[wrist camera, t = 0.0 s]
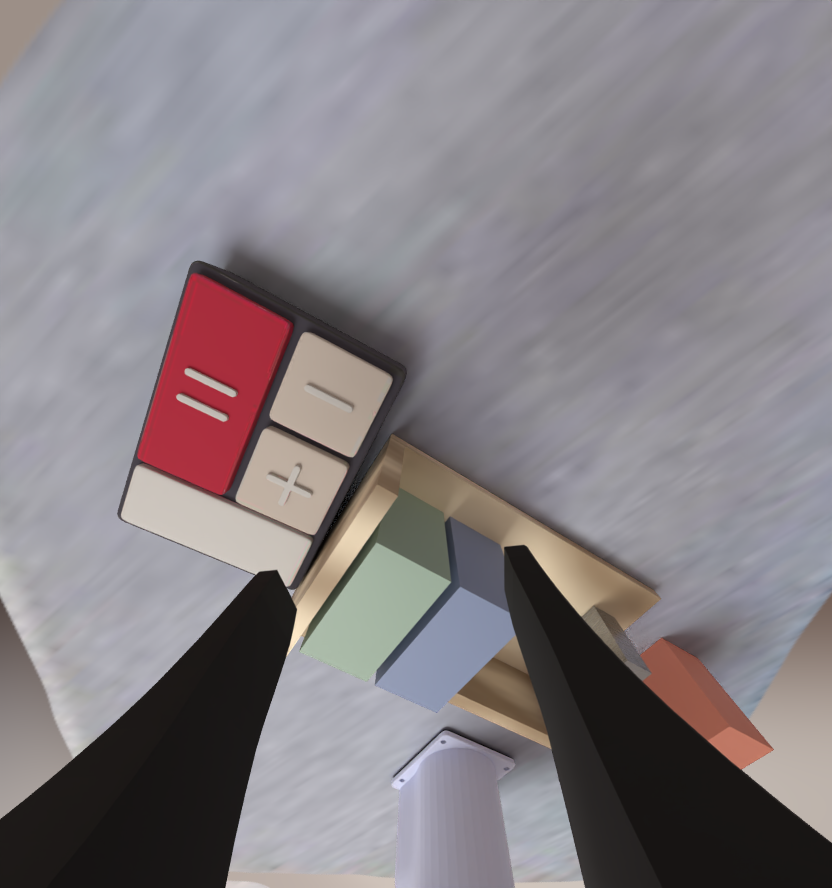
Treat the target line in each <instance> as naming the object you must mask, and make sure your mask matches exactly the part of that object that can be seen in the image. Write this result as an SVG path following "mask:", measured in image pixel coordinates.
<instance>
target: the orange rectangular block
mask: <svg viewBox="0 0 832 888" xmlns="http://www.w3.org/2000/svg"><path fill="white" fill-rule="evenodd" d="M640 656H641V658H642V659H643V661H644V662H645V664H646V665H647V667H648V668H649V670H650V671H651V673H652V674H651V675H649V676H648V677H647V678H646V679H644V680H643V682H644V683H645V684H646V685H647V686H648V687H649V688H650V689H651V690H652V691H653V692H654V693H655V694H656V695H657V696H658V697H659V698H661V699H662V700H663V701H664V702H665V703H666V704H667V705H668V706H669V707H670V708H671V709H672V710H673V711H674V712H676V713H677V714H678V715H679V716H680V717H681V718H682V719H683V720H685V721H686V722H687V723H688V724H689V725H690V726H691V727H693V728H694V729H695V730H696V731H697V732H698V733H699V734H701V735H702V736H703V737H704V738H705V739H706V740H707V741H708V742H710V743H711V744H712V745H713V746H714V747H715V748H716V749H718V750H719V751H720V752H721V753H722V754H723V755H724V756H725V757H727V758H728V759H729V760H730V761H731V762H732V763H734V764H735V765H736V766H737V767H738V768H740V769H743V768H745V767H746V766H748V765H750V764H751V763H753V762H755V761H756V760H758V759H760V758H761V757H763V756H765V755H766V754H768V753H769V752H771V751H773V750H774V749H773V748H772V747H771V746H770V745H769V743H768V742H767V741H766V740H765V739H764V737H763V736H762V735H761V734H760V733H759V731H758V730H757V729H756V728H755V726H754V725H753V724H752V723H751V722H750V720H749V719H748V718H747V717H746V716H745V714H744V713H743V712H742V711H741V710H740V708H739V707H738V706H737V705H736V704H735V702H734V701H733V700H732V699H731V698H730V696H729V695H728V694H727V693H726V692H725V690H724V689H723V688H722V687H721V686H720V684H719V683H718V682H717V681H716V680H715V678H714V677H713V676H712V675H711V674H710V672H709V671H708V670H707V669H706V667H705V666H704V665H703V664H702V663H701V661H700V660H699V659H698V658H696V657H695V656H693V655H691V654H689V653H687V652H686V651H684V650H682V649H680V648H679V647H677V646H675V645H673V644H672V643H670V642H668V641H666V640H665V639H663V638H661V639H659V640H658V641H657V642H656V643H655V644H653V645H652V646H651V647H650V648H648V649H647V650H646V651H645V652H643V653H642V654H641V655H640Z"/></svg>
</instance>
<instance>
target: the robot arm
mask: <svg viewBox="0 0 832 888" xmlns="http://www.w3.org/2000/svg"><path fill="white" fill-rule="evenodd" d="M504 591H505V595H506V599H507V604H508V608H509V613H510V617H511V621H512V625H513V628H514V631H515V634H516V637H517V640H518V644H519V647H520V650H521V653H522V656H523V659H524V662H525V665H526V668H527V671H528V674H529V677H530V680H531V683H532V686H533V689H534V691H535V694H536V697H537V700H538V703H539V706H540V709H541V713H542V716H543V720H544V723H545V726H546V730H547V733H548V737H549V741H550V745H551V749H552V753H553V757H554V761H555V765H556V769H557V773H558V777H559V781H560V785H561V789H562V793H563V797H564V801H565V805H566V809H567V813H568V818H569V822H570V826H571V830H572V834H573V838H574V843H575V847H576V851H577V855H578V859H579V864H580V868H581V872H582V876H583V881H584V885H585V888H832V843H831V842H830V841H829V840H827V839H826V838H825V837H823V836H822V835H820V833H818V832H817V831H816V830H814V829H813V828H812V827H811V826H810V825H808V824H807V823H806V822H805V821H803V820H802V819H801V818H800V817H798V816H797V815H796V814H794V813H793V812H792V811H791V810H790V809H788V808H787V807H786V806H785V805H783V804H782V803H781V802H780V801H778V800H777V799H776V798H775V797H773V796H772V795H771V794H770V793H769V792H767V791H766V790H765V789H764V788H763V787H761V786H760V785H759V784H758V783H756V782H755V781H754V780H753V779H752V778H751V777H749V776H748V775H747V774H745V773H744V772H743V771H742V770H741V769H740V768H738V767H737V766H736V765H735V764H734V763H732V762H731V761H730V760H729V759H728V758H727V757H725V756H724V755H723V754H722V753H721V752H720V751H719V750H718V749H716V748H715V747H714V746H713V745H712V744H711V743H710V742H708V741H707V740H706V739H705V738H704V737H703V736H702V735H701V734H699V733H698V732H697V731H696V730H695V729H694V728H693V727H691V726H690V725H689V724H688V723H687V722H686V721H685V720H683V719H682V718H681V717H680V716H679V715H678V714H677V713H676V712H674V711H673V710H672V709H671V708H670V707H669V706H668V705H667V704H666V703H665V702H664V701H663V700H662V699H661V698H659V697H658V696H657V695H656V694H655V693H654V692H653V691H652V690H651V689H650V688H649V687H648V686H647V685H646V684H645V683H644V682H643V681H642V680H641V679H640V678H639V677H638V676H637V675H636V674H635V673H634V672H633V671H632V670H631V669H630V668H629V667H627V666H626V665H625V663H624V662H623V661H622V660H621V659H620V658H619V657H618V656H617V655H616V654H615V653H614V652H613V651H612V650H611V649H610V648H609V647H608V646H607V645H606V644H605V643H604V641H603V640H602V639H601V638H600V637H599V636H598V635H597V634H596V633H595V632H594V631H593V629H592V628H591V627H590V626H589V625H588V624H587V623H586V622H585V620H584V619H583V618H582V617H581V616H580V615H579V614H578V612H577V611H576V610H575V609H574V608H573V606H572V605H571V604H570V603H569V602H568V600H567V599H566V598H565V597H564V596H563V594H562V593H561V592H560V591H559V589H558V588H557V587H556V586H555V584H554V583H553V582H552V580H551V579H550V578H549V576H548V575H547V574H546V573H545V571H544V570H543V568H542V567H541V566H540V564H539V563H538V562H537V560H536V559H535V557H534V556H533V554H532V553H531V551H530V550H529V548H528V547H527V546H525V545H516V546H506V547H504ZM296 614H297V608H296V606H295V604H294V602H293V600H292V598H291V596H290V594H289V592H288V590H287V588H286V586H285V584H284V582H283V580H282V578H281V576H280V574H279V572H278V570H269V571H259V572H258V573H257V574H256V575H255V576H254V577H253V578H252V580H251V581H250V582H249V583H248V584H247V585H246V586H245V587H244V589H243V590H242V591H241V592H240V593H239V594H238V595H237V597H236V598H235V599H234V600H233V601H232V602H231V603H230V605H229V606H228V607H227V608H226V609H225V610H224V611H223V612H222V614H221V615H220V616H219V617H218V618H217V619H216V620H215V621H214V623H213V624H212V625H211V626H210V627H209V628H208V629H207V630H206V631H205V633H204V634H203V635H202V636H201V637H200V638H199V639H198V640H197V641H196V642H195V643H194V644H193V646H192V647H191V648H190V649H189V650H188V651H187V652H186V653H185V654H184V655H183V656H182V657H181V658H180V659H179V660H178V661H177V662H176V663H175V664H174V665H173V666H172V668H171V669H170V670H169V671H168V672H167V673H166V674H165V675H164V676H163V677H162V678H161V679H160V680H159V681H158V682H157V683H156V684H155V685H154V686H153V687H152V688H151V689H150V690H149V691H148V692H147V693H146V694H145V695H144V696H143V697H142V698H141V699H140V700H138V701H137V702H136V703H135V704H134V705H133V706H132V707H131V708H130V709H129V710H128V711H127V712H126V713H125V714H124V715H123V716H121V717H120V718H119V719H118V720H117V721H116V722H115V723H114V724H113V725H112V726H111V727H109V728H108V729H107V730H106V731H105V732H104V733H103V734H102V735H100V736H99V737H98V738H97V739H96V740H95V741H94V742H92V743H91V744H90V745H89V746H88V747H87V748H85V749H84V750H83V751H82V752H81V753H80V754H79V755H77V756H76V757H75V758H74V759H73V760H72V761H71V762H69V763H68V764H67V765H66V766H65V767H64V768H62V769H61V770H60V771H59V772H58V773H57V774H55V775H54V776H53V777H52V778H51V779H50V780H48V781H47V782H46V783H45V784H43V785H42V786H41V787H40V788H38V789H37V790H36V791H35V792H34V793H32V795H30V796H29V797H28V798H26V799H25V800H24V801H23V802H21V803H20V804H19V805H18V806H16V807H15V808H14V809H12V810H11V811H10V812H9V813H8V814H6V815H5V816H4V817H2V818H1V819H0V888H225V886H226V881H227V876H228V871H229V866H230V862H231V857H232V852H233V847H234V842H235V837H236V833H237V828H238V824H239V819H240V815H241V810H242V806H243V801H244V797H245V793H246V789H247V785H248V780H249V776H250V772H251V768H252V764H253V760H254V756H255V752H256V748H257V745H258V741H259V738H260V735H261V731H262V728H263V725H264V722H265V719H266V716H267V713H268V710H269V707H270V704H271V701H272V698H273V695H274V692H275V689H276V686H277V683H278V680H279V677H280V674H281V671H282V668H283V665H284V662H285V659H286V656H287V652H288V649H289V646H290V642H291V638H292V634H293V629H294V624H295V619H296ZM514 767H515V762H514V760H513V759H512V758H509V757H507V756H505V755H503V754H500V753H498V752H496V751H493V750H491V749H489V748H487V747H484V746H482V745H480V744H477V743H475V742H473V741H470V740H468V739H466V738H464V737H461V736H459V735H457V734H454V733H452V732H450V731H443V732H441V733H440V734H439V735H438V736H437V737H436V738H435V739H434V740H433V741H432V742H431V743H430V744H429V745H428V746H427V747H426V748H425V749H424V750H422V751H421V752H420V753H419V754H418V755H417V756H416V757H415V758H414V759H413V760H412V761H411V762H410V763H409V764H408V765H407V766H406V767H405V768H404V769H403V770H401V771H400V772H399V773H398V774H397V775H396V776H395V777H394V778H393V779H392V784H391V785H392V787H393V788H396V789H398V790H399V807H398V827H397V847H396V867H395V888H515V886H514V880H513V874H512V867H511V861H510V855H509V849H508V843H507V837H506V831H505V825H504V819H503V813H502V807H501V801H500V795H499V789H498V783H497V781H498V780H499V779H501V778H502V777H503V776H504V775H506V774H507V773H508V772H509V771H511V770H512V769H513V768H514Z"/></svg>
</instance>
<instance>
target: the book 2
mask: <svg viewBox="0 0 832 888" xmlns="http://www.w3.org/2000/svg"><path fill="white" fill-rule="evenodd" d="M445 531H446V540H447V549H448V557H449V566H450V575H451V583H450V584H449V585H448V586H447V588H446V589H445V590H444V591H443V592H442V594H441V595H440V596H439V597H438V598H437V599H436V601H435V602H434V603H433V604H432V605H431V607H430V608H429V609H428V610H427V611H426V612H425V614H424V615H423V616H422V617H421V618H420V620H419V621H418V622H417V623H416V624H415V625H414V627H413V628H412V629H411V630H410V631H409V632H408V634H407V635H406V636H405V637H404V638H403V640H402V641H401V642H400V643H399V644H398V645H397V647H396V648H395V649H394V650H393V651H392V653H391V654H390V655H389V656H388V657H387V658H386V660H385V661H384V662H383V663H382V664H381V666H380V667H379V668H378V669H377V673H376V680H375V686H377V687H380V688H382V689H384V690H386V691H389V692H391V693H393V694H395V695H398V696H400V697H402V698H404V699H407V700H409V701H411V702H413V703H416V704H418V705H420V706H422V707H425V708H427V709H429V710H431V711H434V712H436V713H437V712H438V711H439V710H440V709H441V708H442V707H443V706H444V705H445V704H446V703H447V702H448V701H449V700H450V699H451V698H452V697H453V696H454V695H455V694H456V693H457V692H458V691H459V690H461V689H462V688H463V687H464V686H465V685H466V684H467V683H468V682H469V681H470V680H471V679H472V678H473V677H474V676H475V675H476V674H477V673H478V672H479V671H480V670H481V669H482V668H483V667H484V666H485V665H486V664H487V663H488V662H489V661H490V660H491V659H492V658H493V657H494V656H495V655H496V654H497V653H498V652H499V651H500V650H501V649H502V648H503V647H504V646H505V645H506V644H507V643H508V642H509V641H510V640H511V639H512V638H513V637H514V636H515V635H516V634H515V631H514V628H513V625H512V621H511V617H510V613H509V608H508V604H507V599H506V595H505V591H504V554H503V551H502V548H501V546H500V544H498V543H496V542H494V541H493V540H491V539H489V538H487V537H486V536H484V535H482V534H480V533H479V532H477V531H475V530H473V529H472V528H470V527H468V526H466V525H465V524H463V523H461V522H459V521H457V520H456V519H454V518H452V517H449V518H448V519H447V521H446V522H445Z"/></svg>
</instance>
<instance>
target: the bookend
mask: <svg viewBox="0 0 832 888" xmlns="http://www.w3.org/2000/svg"><path fill="white" fill-rule="evenodd" d="M582 618H583V619H584V620H585V622H586V623H587V624H588V625H589V626H590V627H591V628H592V629H593V631H594V632H595V633H596V634H597V635H598V636H599V637H600V638H601V639H602V640H603V641H604V643H605V644H606V645H607V646H608V647H609V648H610V649H611V650H612V651H613V652H614V653H615V654H616V655H617V656H618V657H619V658H620V659H621V660H622V661H623V662H624V663H625V665H626V666H627V667H629V668H630V669H631V670H632V671H633V672H634V673H635V674H636V675H637V676H638V677H639V678H640V679H641V680H642V681H643V680H644V679H646V678H647V677H648V676H649V675H651V674H652V673H651V671H650V670H649V668H648V667H647V665H646V664H645V662H644V661H643V659H642V658H641V656H640V655H639V653H638V652H637V650H636V649H635V647H634V646H633V644H632V643H631V641H630V640H629V638H628V637H627V635H626V634H625V632H624V631H623V629H622V628H621V626H620V625H619V623H618V622H617V620H616V619H615V617H613V616H611V615H609V614H608V613H606V612H604V611H602V610H600V609H599V608H597V607H595V606H593V607H592V608H591V609H590V610H589V611H588V612H587V613H586V614H584V615H583V616H582Z"/></svg>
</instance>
